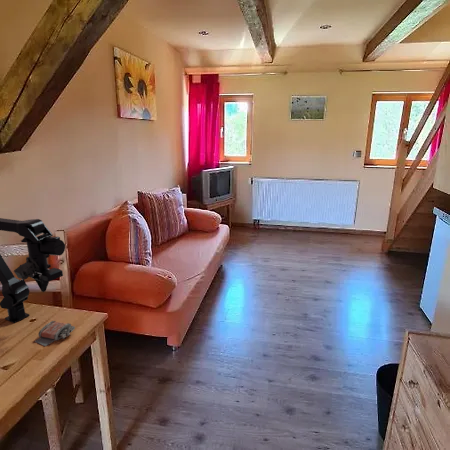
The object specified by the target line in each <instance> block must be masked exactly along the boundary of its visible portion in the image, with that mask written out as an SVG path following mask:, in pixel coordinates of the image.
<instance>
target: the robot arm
mask: <svg viewBox="0 0 450 450" xmlns="http://www.w3.org/2000/svg"><path fill="white" fill-rule="evenodd" d="M0 231H3V232H9V233H15V234H18V235H19V236H21V237H23V238H22V239H21V240H20V242H21V243H26V247H27V253H28V256H27V257H26V258H25V263H24V262H23V263H22V264H20V265H19V266H18V267H17V268H15V269H14V270H13V271H12V270H11V269H10V267H9V266H8V264H7V262H6V261H5V259H4V257H2V256H3V255H2V254H1V253H0V284H1V294H2V296H3V298H2V299H1V301H0V308H1V309H6V310H7V316H5V317H4V319H5V320H6V321H8V322H11V323H13V324H15V323H17V322H19V321H22V320H23V319H26V318H27V317H29V316H30V314H29V313H27V312H26V310H25V306H24V302H25V301H27V300H28V299H29V295H30V292H31V291H30V289H29V288H30V286H29V285H28V284H27V283H26V280H27V279H29V278H30V279H33V280H34V281H35V282H36V284H37V286H38V287H39V289H40V291H41V292H42V293H45V292H46V291H47V288H48V285H49V283H50V282H53V281H55V280H56V279H57V280H58V279H59V278H61V277H63V276H64V273H63V270H62V269H59V268H56V267H53V268H51V264H49V263H48V258H49V257H50V256H62V255H64V253H65V251H66V243H64V241H63V239H61V237H60V236H53V233H52V232H51V230H50V229H49V228H48V227H47V226H46V224H45V223H44V222H43V220H42V219H39V218H36V219H35V218H34V219H26V220H25V219H24V220H18V219H9V218H2V217H0ZM13 273H14V274H15V275H16V276H17V278H16V276H15V275H14V274H13Z"/></svg>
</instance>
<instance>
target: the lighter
mask: <svg viewBox="0 0 450 450" xmlns="http://www.w3.org/2000/svg"><path fill="white" fill-rule="evenodd" d="M75 329H76V327H75V325H74V326H73V325H72V324H71V323H64V322H60V321H56V320H52V321H50V322H48V323H46V324H45V325H44V326H43V327H42V328H41V329H40V330H39V331H38V334H37V335H38V337H39V338H41V337H42V338H43V337H45V338H50V339H55V340H56V341H60V340H61V339H65V338H67V337H69V336H70V334H71V333H72V332H73V331H74V330H75Z"/></svg>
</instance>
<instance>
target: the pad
mask: <svg viewBox="0 0 450 450" xmlns="http://www.w3.org/2000/svg"><path fill="white" fill-rule="evenodd" d="M55 341H57V340H55V339H50V338H45V337H43V338H42V337H39V338H38V339H36V340H34V342H35V343H36V344H39V345H42V346H43V347H47V346H49V345H51V344H52V343H54V342H55Z"/></svg>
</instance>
